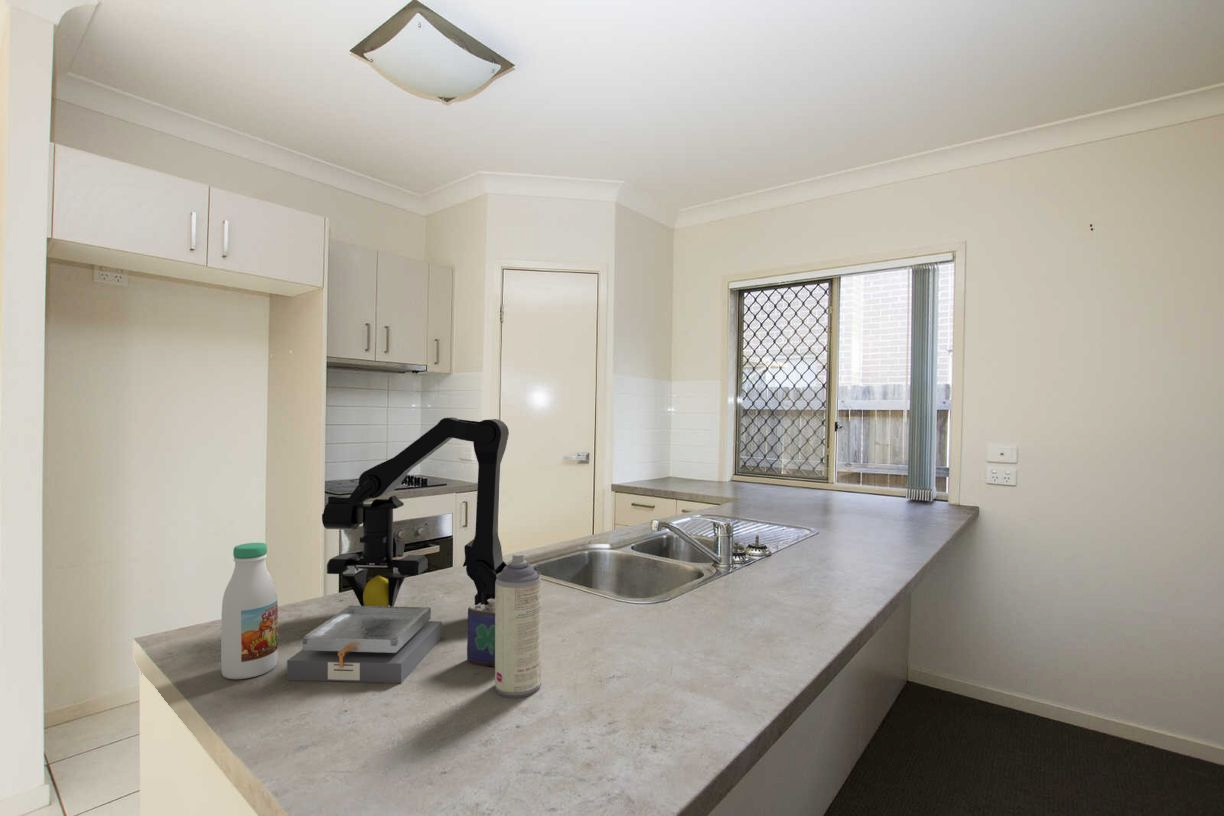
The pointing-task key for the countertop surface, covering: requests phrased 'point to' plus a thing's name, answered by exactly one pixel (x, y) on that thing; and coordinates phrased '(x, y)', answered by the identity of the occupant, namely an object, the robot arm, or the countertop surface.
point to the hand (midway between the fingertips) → (377, 606)
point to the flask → (481, 634)
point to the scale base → (366, 661)
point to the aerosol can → (517, 629)
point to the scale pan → (367, 630)
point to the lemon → (376, 592)
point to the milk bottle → (249, 616)
